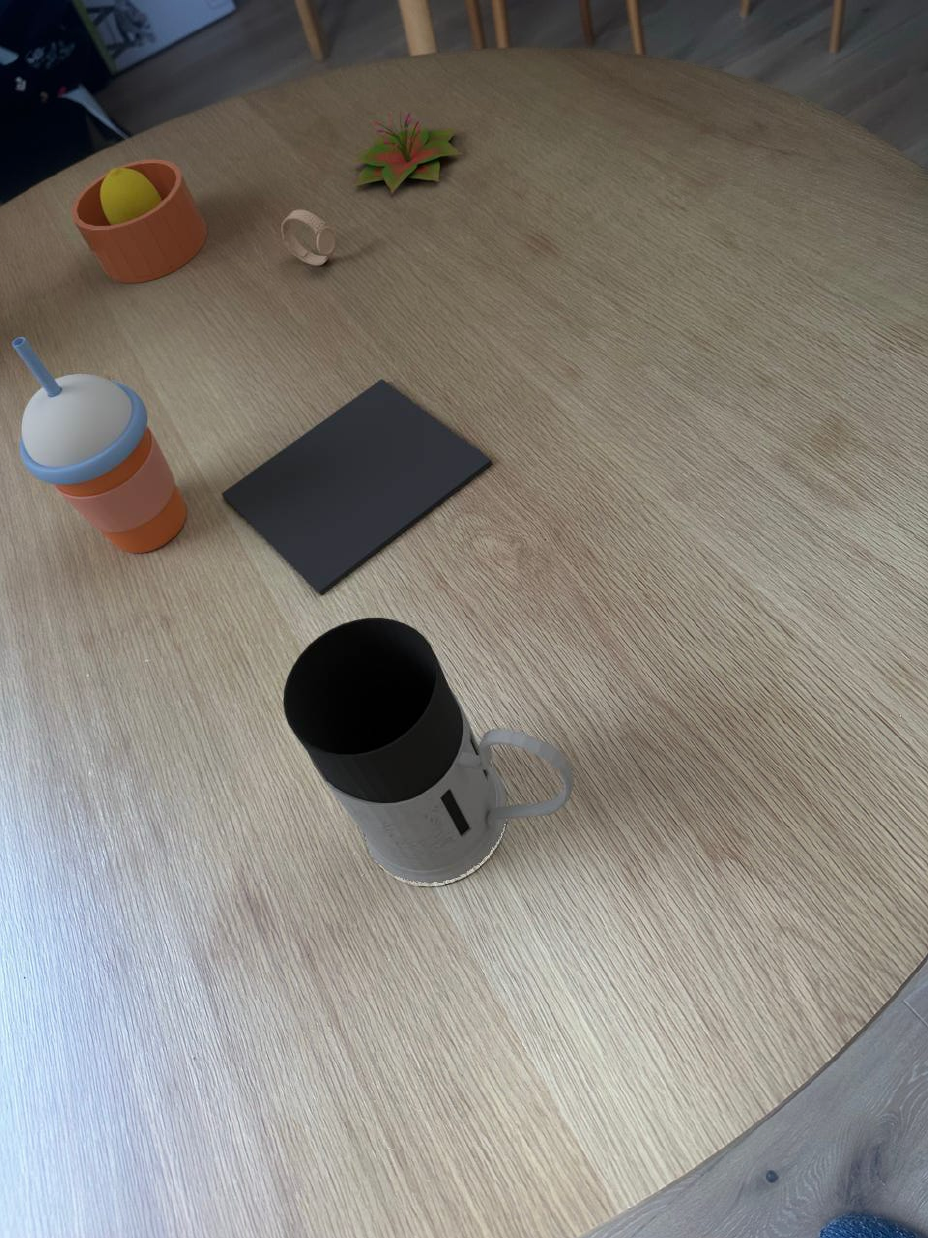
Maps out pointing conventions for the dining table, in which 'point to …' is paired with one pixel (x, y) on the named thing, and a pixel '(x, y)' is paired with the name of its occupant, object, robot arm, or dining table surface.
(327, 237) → the wristwatch
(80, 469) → the cup with straw
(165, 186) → the cup
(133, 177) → the lemon
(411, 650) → the gray and black mug
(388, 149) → the lily flower
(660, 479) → the dining table surface
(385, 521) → the mat
